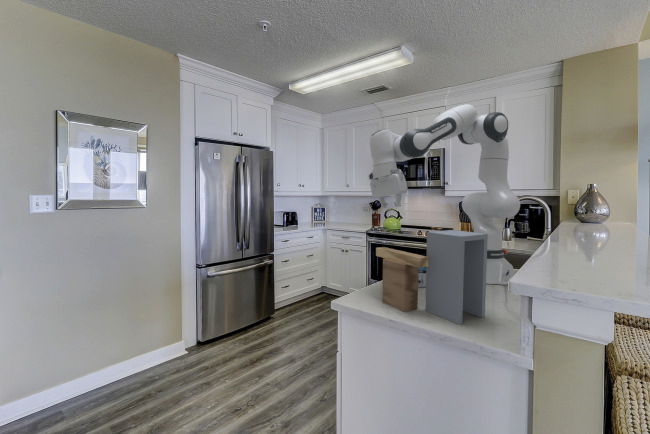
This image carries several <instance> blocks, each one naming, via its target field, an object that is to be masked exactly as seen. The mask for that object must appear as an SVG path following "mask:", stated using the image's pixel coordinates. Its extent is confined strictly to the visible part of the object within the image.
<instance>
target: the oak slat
mask: <svg viewBox="0 0 650 434" xmlns="http://www.w3.org/2000/svg"><path fill="white" fill-rule="evenodd" d="M375 256H376V257H379V258H382V259H389V260H393V261H397V262H401V263H404V264H408V265H412V266H415V267H419V268H422V267H428V257H427V255H426V256H425V255H420V254H417V253H413V252H407V251H403V250H397V249H394V248H389V247H385V246H382V247H375Z"/></svg>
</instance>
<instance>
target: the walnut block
mask: <svg viewBox="0 0 650 434" xmlns="http://www.w3.org/2000/svg"><path fill="white" fill-rule="evenodd" d="M418 298H419V287H418V267H415V266H412V265H408V264H404V263H401V262H397V261H393V260H389V259H386V258H382V299H381V300H382V303H384V304H385V305H389V306H390V307H393V308H395V309H397V310H399V311H401V312H404V313H405V312H408V311H413V310H417V309H418V308H419V307H418V305H419V304H418V303H419V302H418V301H419V299H418Z"/></svg>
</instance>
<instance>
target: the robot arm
mask: <svg viewBox="0 0 650 434" xmlns="http://www.w3.org/2000/svg"><path fill="white" fill-rule="evenodd" d="M508 131H509V120H508V118H507V116H506V115H505V114H504V113H503V112H500V111H497V112H489V113H486V114H482V115H478V110H477V109H476V107H475V106H474V105H473V104H469V103H465V104H461V105H458V106H457V105H456V106H454V107H452V108H449V109H448V110H445V111H444V112H442V113H440V114H439V115H438V116H436V117H435V118H434V119H433V122H432V125H430V126H428V127H426V128H425V127H424V128H412V129H410V130H408V131H407V132H406V133H404V134H401V135H399V134H397V133H394V132H392V131H391V130H390V129H389V128H382V129H380V130H377V131H375V132H374V133H372V134H371V136H370V138H369V147H370V154H371V155H370V156H371V158H372V160H373V162H372V171H371V172H370V173H369V174H368V180H369V181H370V182H369V186H370V191H371V196H372V197H373V198H378V202H379V203H380V204H381V208H382V209H387V208H388V203H387V202H386V200H385V199H386V197H387V196H388V197H390V196H394V198H395V202H394V207H395V208H399V207H400V208H401V206H402V203H401V201H402V196H403V195H402V194H407V192H408V184H407V181H406V177H405V175H404V172H403V171H402V170H401V169H400V168H398V167H397V163H398V162H399V163H400V162H406V161H409V160H411V159H415V158H419V157H422V156H424V155H425V154H426V153H427V152H428V151H429V149H430V148H431V147H432V146H433V145H434V144H435V143H437V142H439V141H440V140H443V141H446V140H450V139H452V138H455V137H457V138H458V140H459V141H460V142H461V143H462V144H464V145H474V144H480V146H481V151H480V156H479V165H478V175H477V176H478V179H479V181H480V182H482V183H484V185H485V188H486V191H485V192H484V191H481V192H480V191H479V192H478V191H477V192H473V193H468V194H467V195H465V196H464V197H463V199H462V202H461V208H462V210H463V212H464V213H465V215H467V216H468V218H469V221H470V222H471V226H472V228H473V232H474V233H483V234H488V240H487V269H486V285H488V284H490V285H502V286H508V285H509V284H508V281H509V279H510V278H511V277H512V276H513V275H514V266H513V265H512V264H511V263H510V261H508V260H507V259H506V258H505V255H507V254H508V249H504V248H502V247H503V232H502V230H501V229H500V228H499V227H498V226H497V225H496V224H495V222H494V219H507V218H512V217H515V216H516V215H517V214H518V213H519V211H520V208H521V202H520V199H519V197H518V196H517V195H516V194H515V193H514V192H513V190H511V188H510V185H509V182H508V167H509V158H510V156H509V153H510V152H509V141H508V138H507V135H508ZM493 218H494V219H493Z"/></svg>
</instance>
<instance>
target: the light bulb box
mask: <svg viewBox="0 0 650 434" xmlns="http://www.w3.org/2000/svg"><path fill="white" fill-rule="evenodd" d="M419 287H420V288H426V267H422V268H419V267H418V288H419Z"/></svg>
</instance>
